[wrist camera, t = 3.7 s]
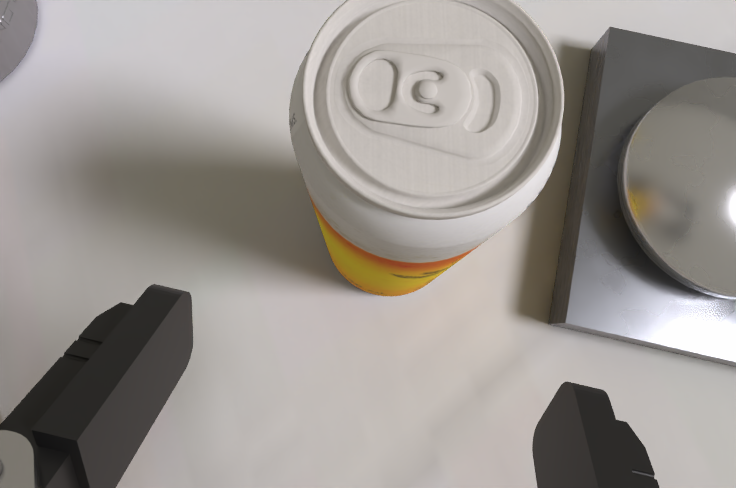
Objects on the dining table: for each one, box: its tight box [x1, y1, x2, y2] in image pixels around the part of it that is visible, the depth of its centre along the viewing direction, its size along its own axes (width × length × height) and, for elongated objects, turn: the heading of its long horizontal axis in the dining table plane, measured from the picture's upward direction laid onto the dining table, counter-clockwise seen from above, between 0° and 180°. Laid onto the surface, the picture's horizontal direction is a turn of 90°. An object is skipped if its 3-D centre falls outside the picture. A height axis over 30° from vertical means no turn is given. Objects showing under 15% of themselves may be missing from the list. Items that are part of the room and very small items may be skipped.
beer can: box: [289, 0, 564, 296], centre depth 17 cm, size 6×6×15 cm
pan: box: [617, 77, 736, 299], centre depth 22 cm, size 10×10×1 cm
